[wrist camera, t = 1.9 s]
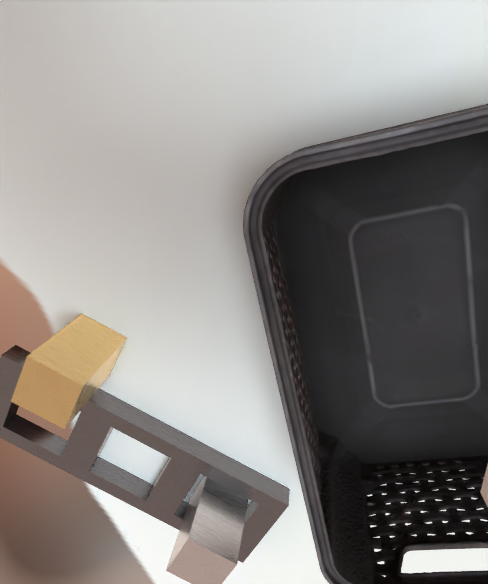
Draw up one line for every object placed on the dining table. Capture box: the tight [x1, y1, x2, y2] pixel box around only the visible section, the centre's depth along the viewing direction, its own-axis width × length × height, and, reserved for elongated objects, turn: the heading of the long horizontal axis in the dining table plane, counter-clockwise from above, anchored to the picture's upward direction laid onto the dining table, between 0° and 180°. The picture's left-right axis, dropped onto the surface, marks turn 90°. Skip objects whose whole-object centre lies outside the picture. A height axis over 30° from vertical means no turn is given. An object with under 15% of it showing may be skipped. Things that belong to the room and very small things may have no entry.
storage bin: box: [243, 104, 488, 584], centre depth 28 cm, size 29×19×13 cm
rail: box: [0, 345, 289, 563], centre depth 42 cm, size 30×9×2 cm, turn 62°
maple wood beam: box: [11, 314, 127, 429], centre depth 35 cm, size 5×5×8 cm
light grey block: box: [166, 476, 248, 584], centre depth 39 cm, size 5×5×8 cm
